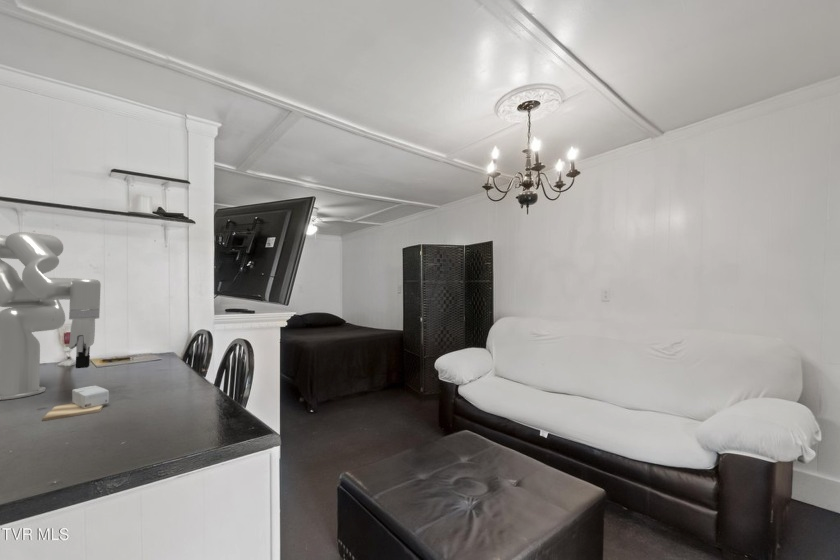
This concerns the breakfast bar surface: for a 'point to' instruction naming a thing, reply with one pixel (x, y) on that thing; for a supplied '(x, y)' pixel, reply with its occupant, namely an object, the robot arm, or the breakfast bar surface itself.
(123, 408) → the breakfast bar surface
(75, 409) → the brass plate
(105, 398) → the skincare box
